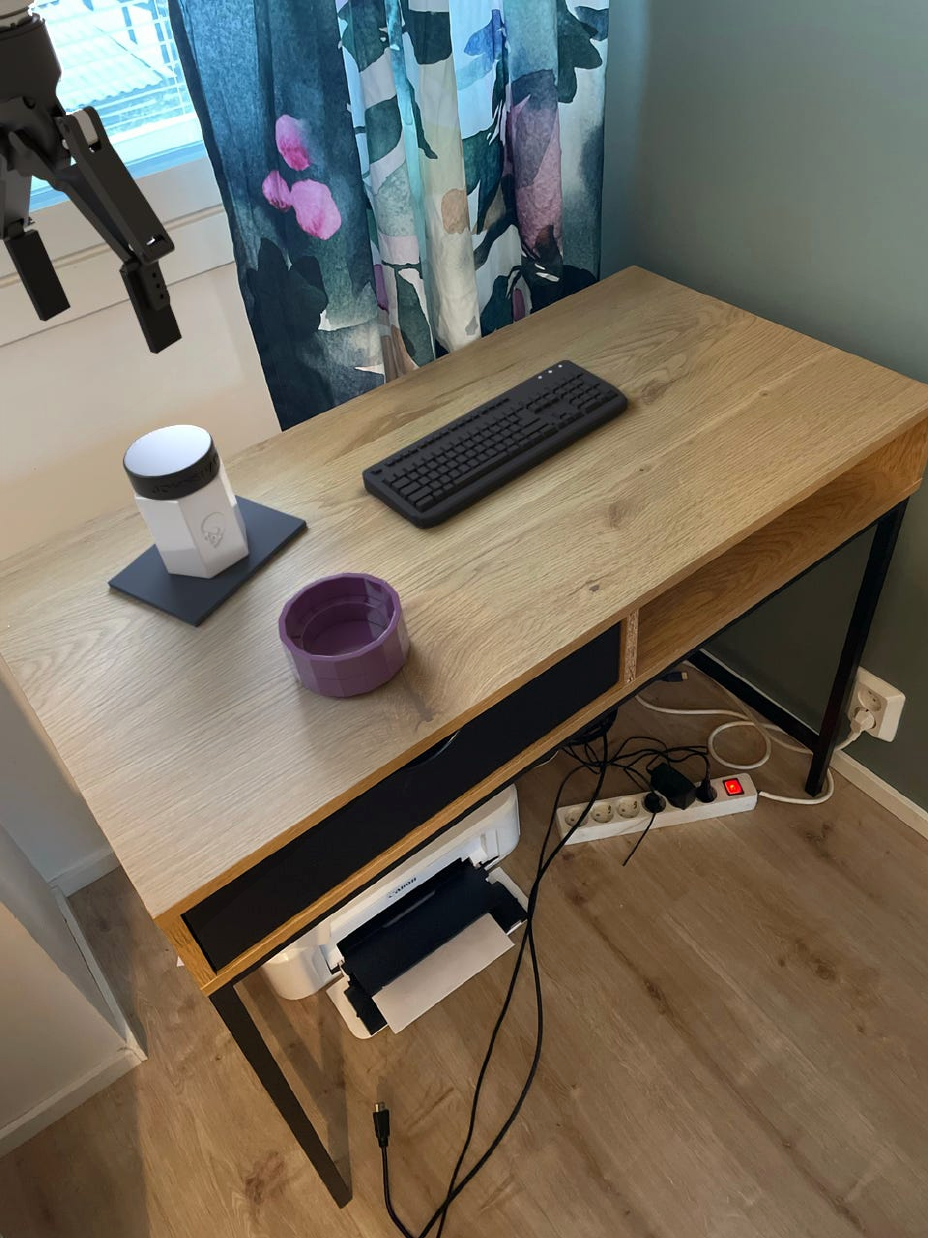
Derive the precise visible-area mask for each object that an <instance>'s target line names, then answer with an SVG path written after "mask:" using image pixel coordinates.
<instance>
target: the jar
mask: <svg viewBox="0 0 928 1238" xmlns="http://www.w3.org/2000/svg"><path fill="white" fill-rule="evenodd" d="M122 466H123V469H124V471H125V474H126V476H127V478H128V479H129V480H128V481H129V483H130V485H131V487H132V488H133V490H134V495H133V496H134V501H135V504H136V505H137V507H138V509H139V512H140V514H141V516H142V519H143V520H144V522H145V524H146V527H147V529H148V531H149V533H150V535H151V537H152V540H153V542H154V544H156V546H157V548H158V551H159V553H160V555H161V557H162V559H163V561H164V564H165V566H166V568H167V570H168V572H169V573H171V574H178V575H185V576H193V577H201V578H208V579H210V578H212V577H214V576H215V575H217V574H219V573H220V572H222V571H223V570H225V569H226V568H228V567H230V566H231V565H233V564H234V563H236V562H237V561H239V560H241V559H242V558H244V557H245V556H247V555H248V553H249V551H248V544H247V535H246V527H245V524H244V521H243V518H242V515H241V512H240V510H239V507H238V504H237V501H236V499H235V496H234V495H235V493H234V490H233V488H232V485H231V482H230V479H229V476H228V474H227V471H226V468H225V466H224V462H223V460H222V457H221V454H220V452H219V451H218V448H217V446H216V445H215V442H214V439H213V436H212V435H211V434H210V433H209V432H208V430H206V429H204V428H202V427H200V426H196V425H191V424H176V425H170V426H165V427H164V426H163V427H161V428H157V429H155V430H153V431H149V432H148V433H145V434H144V435H142V436H140V437H139V438H138V439H136V440H135V441H134V442H133V443H132V444H131V445H129V447H128V448H127V449H126V451H125V452H124V455H123V458H122Z"/></svg>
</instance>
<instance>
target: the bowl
mask: <svg viewBox="0 0 928 1238" xmlns="http://www.w3.org/2000/svg"><path fill="white" fill-rule="evenodd" d="M277 625H278V636H279V640H280V642H281V645H282V647H283V651H284V653H285V656H286V658H287V661H288V664H289V667H290V669H291V673H292V674H293V675H294V677H295V678H296V679H297V681H299V683H300V685H302V687H304V688H306V689H308V690H310V691H313V692H315V693H317V694H319V695H321V696H323V697H324V696H327V697H339V698H347V697H348V698H349V697H352V696H356V695H360V694H365V693H369V692H371V691H373V690H375V689H376V688H379V687H380V686H382V685H383V684H385V683H386V682H387V683H388V682H389V681H390V680H391V679H392V678H393V677H394V676H395V675H396V674H397V673H398V672H399V670H400V669H401V668H402V666H403V665H404V664H405V663H406V660H407V656H408V653H409V650H410V646H411V644H410V639H409V634H408V630H407V625H406V621H405V617H404V612H403V608H402V604H401V598H400V594H399V593H398V592H397V590H395V588H393V587H392V586H391V585H390V584H389V582H388V581H386V579H385V580H384V579H383V578H380V577H378V576H375V575H372V574H371V573H366V572H365V573H364V572H349V571H348V572H340V573H334V574H330V575H327V576H322V577H319V578H317V579H316V580H314V581H312V582H309V583H308V584H306V585H304V586H302V587H301V588H300V589H298V591H296V592H295V593H294V594H293V595H292V596H291V597H290V598H289V599H288V600H287V601H286V602H285V603H284V606H283V607H282V610H281V612H280V615H279V617H278V619H277Z"/></svg>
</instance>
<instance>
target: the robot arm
mask: <svg viewBox="0 0 928 1238" xmlns="http://www.w3.org/2000/svg"><path fill="white" fill-rule="evenodd" d="M36 3H37V0H0V241H2V242H3V244H4V246H5V248H6V250H7V253H8V255H9V257H10V259H11V261H12V263H13V265H14V268H15V270H16V272H17V274H18V277H19V278H20V280H21V282H22V285H23V287H24V289H25V291H26V294H27V295H28V297H29V300H30V302H31V304H32V306H33V308H34V311H35V313H36V315H37V317H38V319H39V321H42V322H48V321H49V320H51V319H53V318H54V317H56V316H58V315H60V314H62V313H64V312H65V311H67V310H69V309H70V308H72V306H71V304H70V301H69V299H68V297H67V295H66V292H65V290H64V288H63V285H62V283H61V280H60V279H59V276H58V273H57V272H56V270H55V269H56V268H55V267H54V265H53V263H52V259H51V258H50V256H49V254H48V251H47V249H46V246H45V244H44V242H43V240H42V238H41V235H40V233H39V230H38V229H34V228H31V229H28V230H26V231H25V229H26V228H29V227H31V226H33V225H35V224H36V221H34V219H33V218H32V217H31V216H30V206H31V205H30V204H31V194H32V183H33V177H34V178H36V179H37V180H40V181H45V182H47V183H48V185H49V186H50V187H51V188H52V189H53V190H55V191H57V192H60V193H61V192H62V193H64V195H66V196H67V198H68V199H69V200H70V201H71V203H73V205H74V206H75V207H76V208H77V210H78V211H79V212H80V213H81V214H82V216H83V217H84V218H85V219H86V220H87V221H88V223H89V224H90V225H91V226H92V227H93V229H94V230H95V231H96V232H97V233H98V234H99V236H100V237H101V238H102V239H103V240H104V241H105V243H106V245H108V247H110V249H111V250H112V251H113V252H114V253H115V255H116V256H117V257H118V258H119V260H120V261H121V262H122V263H123V264H121V267H120V268H119V269H118V272H119V274H120V277H121V279H122V282H123V285H124V287H125V291H126V292H127V295H128V298H129V301H130V303H131V306H132V308H133V310H134V314H135V316H136V319H137V321H138V324H139V326H140V329H141V332H142V334H143V337H144V339H145V343H146V344H147V348H148V350H149V352H150V353H151V354H155V355H158V354H160V353H161V352H163V351H164V350H166V349H167V348H169V347H170V346H172V345H174V344H175V343H177V342H178V341H180V340H182V339H183V335H182V333H181V331H180V326H179V323H178V322H177V321H178V320H177V318H176V315H175V313H174V310H173V307H172V304H171V303H172V302H171V294H170V292H169V289H168V286H167V284H166V281H165V277H164V275H163V273H162V269H161V266H160V261H159V260H161V259H163V258H164V257H166V256H168V255H169V254H171V253H173V252H174V251H175V243H174V241H173V239H172V238H171V236H170V235H169V233H168V232H167V230H166V228H165V227H164V225H163V224H162V222H161V220H160V218H159V217H158V216H157V214H156V212H155V211H154V209H153V208H152V206H151V204H150V203H149V201H148V200H147V198H146V197H145V195H144V193H143V191H142V190H141V189H140V187H139V186H138V184H137V182H136V180H135V178H133V175H131V173H130V171H129V170H128V168H127V166H126V165H125V164H124V162H123V160H122V158H121V157H120V155H119V154H118V152H117V151H116V149H115V147H114V146H113V144H112V143H111V141H110V138H109V136H108V134H107V131H106V129H105V126H104V124H103V121H102V119H101V117H100V115H99V112H98V111H97V109H96V108H95V107H93V106H92V105H86V106H84V107H82V108H80V109H77V110H75V111H72V112H68V111H67V110H66V108H65V107H64V106H63V104H62V102H61V100H60V98H59V96H58V94H57V87H58V84H59V83H60V82H61V81H62V79H63V78H64V74H65V71H64V66H63V63H62V60H61V58H60V56H59V52H58V50H57V47H56V44H55V41H54V38H53V36H52V33H51V31H50V28H49V25H48V23H47V20H46V18H43V17H42V15H41V14H40V13H37V12H34V11H33V12H32V10H31V9H32V8H34V7H35V6H36ZM72 159H73V160H74V162H75V163H73V164H72ZM31 221H32V222H31Z"/></svg>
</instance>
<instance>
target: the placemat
mask: <svg viewBox="0 0 928 1238" xmlns="http://www.w3.org/2000/svg"><path fill="white" fill-rule="evenodd" d="M234 496H235V499H236V501H237V504H238V507H239V510H240V512H241V515H242V518H243V521H244V524H245V527H246V535H247V544H248V551H249V553H248V555H247V556H245V557H244V558H242V559H241V560H239V561H237V562H236V563H234V564H233V565H231V566H230V567H228V568H226V569H225V570H223V571H222V572H220V573H219V574H217V575H215V576H214V577H212V578H210V579H208V578H201V577H193V576H185V575H178V574H171V573H169V572H168V570H167V568H166V566H165V564H164V561H163V559H162V557H161V555H160V553H159V551H158V548H157V546H156V544H155V543H153V544H152V545H151V546H150V547H148V548H147V549H146V550H145V551H144V552H143V553H141V554H140V555H139V556H137V557H136V558H135V559H134V560H133V561H132V562H130V563H129V564H128V565H127V566H126V567H124V568H123V569H122V570H121V571H119V572H118V573H116V575H115V576H113V577H112V578H111V579H110V580H108V582H107V584H108V587H110V588H112V589H113V590H117V591H118V592H120V593H122V594H124V595H127V596H128V597H131V598H133V599H135V600H137V601H140V602H142V603H144V604H146V605H147V606H150V607H152V608H155V609H156V610H158V611H160V612H163V613H164V614H167V615H169V616H172V617H174V618H175V619H177V620H180V621H182V622H184V623H187V624H189V625H191V626H193V627H195V628H197V627H198V626H200V625H201V624H202V623H203V622H204V621H205V620H206V619H207V618H209V616H210V615H211V614H213V613H214V612H215V611H216V610H217V609H218V608H219V607H220V606H221V605H223V604H224V602H225V601H227V600H228V599H229V598H230V597H231V596H232V595H233V594H234V593H235V592H236V591H237V590H239V589H240V588H241V587H242V586H243V585H244V584H245V583H246V582H247V581H249V579H250V578H252V577H253V575H255V574H256V573H257V572H258V571H259V570H260V569H261V568H262V567H264V566H265V565H266V564H267V563H268V562H269V561H270V560H271V559H272V558H273V557H274V556H276V555H277V553H279V552H280V550H282V549H283V548H284V547H285V546H286V545H287V544H289V542H291V541H292V540H293V539H294V538H295V537H296V536H297V535H298V534H299V533H300V532H301V531H302V530H304V529H305V527H307V526H308V525H307V524H308V523H307V521H306V520H305V519H302V518H299V517H297V516H294V515H291V514H288V513H285V512H283V511H280V510H278V509H275V508H272V507H269V506H266V505H264V504H261V503H258V502H255V501H254V500H250V499H247V498H245V497H242V496H239V495H237V494H234Z"/></svg>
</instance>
